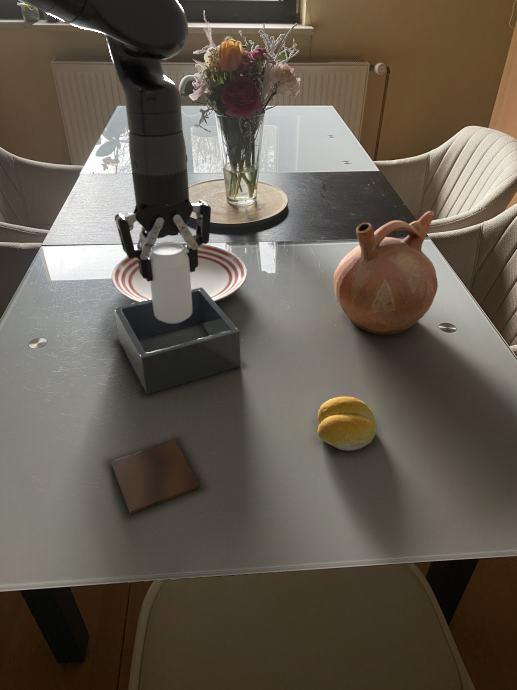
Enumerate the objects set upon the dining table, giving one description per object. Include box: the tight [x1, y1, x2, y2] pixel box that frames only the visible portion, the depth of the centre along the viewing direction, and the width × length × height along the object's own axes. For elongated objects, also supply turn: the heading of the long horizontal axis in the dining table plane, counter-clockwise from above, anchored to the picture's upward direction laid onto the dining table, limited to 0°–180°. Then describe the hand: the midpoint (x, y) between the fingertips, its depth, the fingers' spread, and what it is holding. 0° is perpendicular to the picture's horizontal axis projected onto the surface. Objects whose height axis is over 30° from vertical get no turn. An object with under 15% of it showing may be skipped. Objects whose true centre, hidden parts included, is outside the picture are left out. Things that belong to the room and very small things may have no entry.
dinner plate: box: [111, 242, 248, 303], centre depth 111 cm, size 27×27×3 cm
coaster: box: [110, 439, 200, 515], centre depth 69 cm, size 9×9×1 cm
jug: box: [333, 210, 439, 336], centre depth 95 cm, size 18×18×20 cm
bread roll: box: [317, 396, 378, 452], centre depth 75 cm, size 8×9×4 cm
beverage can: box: [149, 241, 192, 324], centre depth 84 cm, size 6×6×12 cm
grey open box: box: [113, 287, 241, 395], centre depth 89 cm, size 16×16×7 cm
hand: (169, 274), depth 83 cm, fingers closed on beverage can, 6 cm apart
